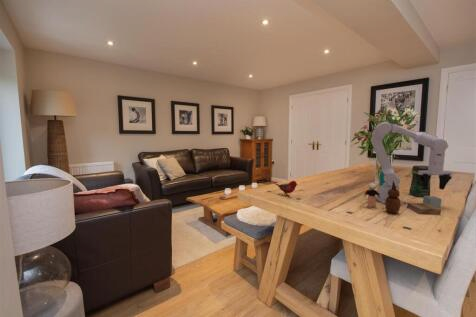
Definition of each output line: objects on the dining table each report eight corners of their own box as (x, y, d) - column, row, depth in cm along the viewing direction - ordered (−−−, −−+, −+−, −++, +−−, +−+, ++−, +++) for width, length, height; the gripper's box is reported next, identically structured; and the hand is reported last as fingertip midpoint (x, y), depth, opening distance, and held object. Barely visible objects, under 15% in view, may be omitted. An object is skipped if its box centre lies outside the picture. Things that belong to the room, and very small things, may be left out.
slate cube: (429, 208, 111) (430, 198, 110) (422, 205, 116) (423, 195, 115) (440, 208, 110) (441, 199, 110) (433, 205, 115) (434, 196, 115)
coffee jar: (415, 197, 130) (418, 166, 128) (406, 193, 138) (409, 164, 136) (433, 197, 129) (436, 166, 127) (422, 193, 137) (426, 164, 135)
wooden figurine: (385, 209, 109) (388, 179, 107) (399, 211, 105) (402, 181, 104) (383, 212, 104) (386, 181, 102) (398, 215, 100) (401, 183, 99)
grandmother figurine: (375, 206, 114) (377, 182, 112) (380, 208, 110) (382, 183, 108) (360, 206, 113) (362, 182, 112) (365, 208, 110) (367, 183, 108)
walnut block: (418, 214, 103) (419, 208, 102) (407, 208, 112) (407, 202, 111) (440, 215, 101) (441, 209, 101) (426, 209, 110) (427, 203, 110)
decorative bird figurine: (295, 198, 125) (296, 181, 124) (271, 192, 139) (272, 177, 137) (298, 197, 127) (299, 181, 126) (274, 191, 140) (275, 176, 139)
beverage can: (391, 195, 133) (393, 171, 131) (381, 195, 134) (383, 170, 132) (387, 193, 139) (389, 169, 137) (377, 192, 140) (379, 169, 138)
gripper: (426, 163, 108) (423, 190, 109) (459, 164, 106) (455, 191, 107) (416, 161, 114) (413, 186, 116) (447, 162, 113) (444, 187, 114)
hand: (433, 188), depth 112 cm, fingers open, 7 cm apart
